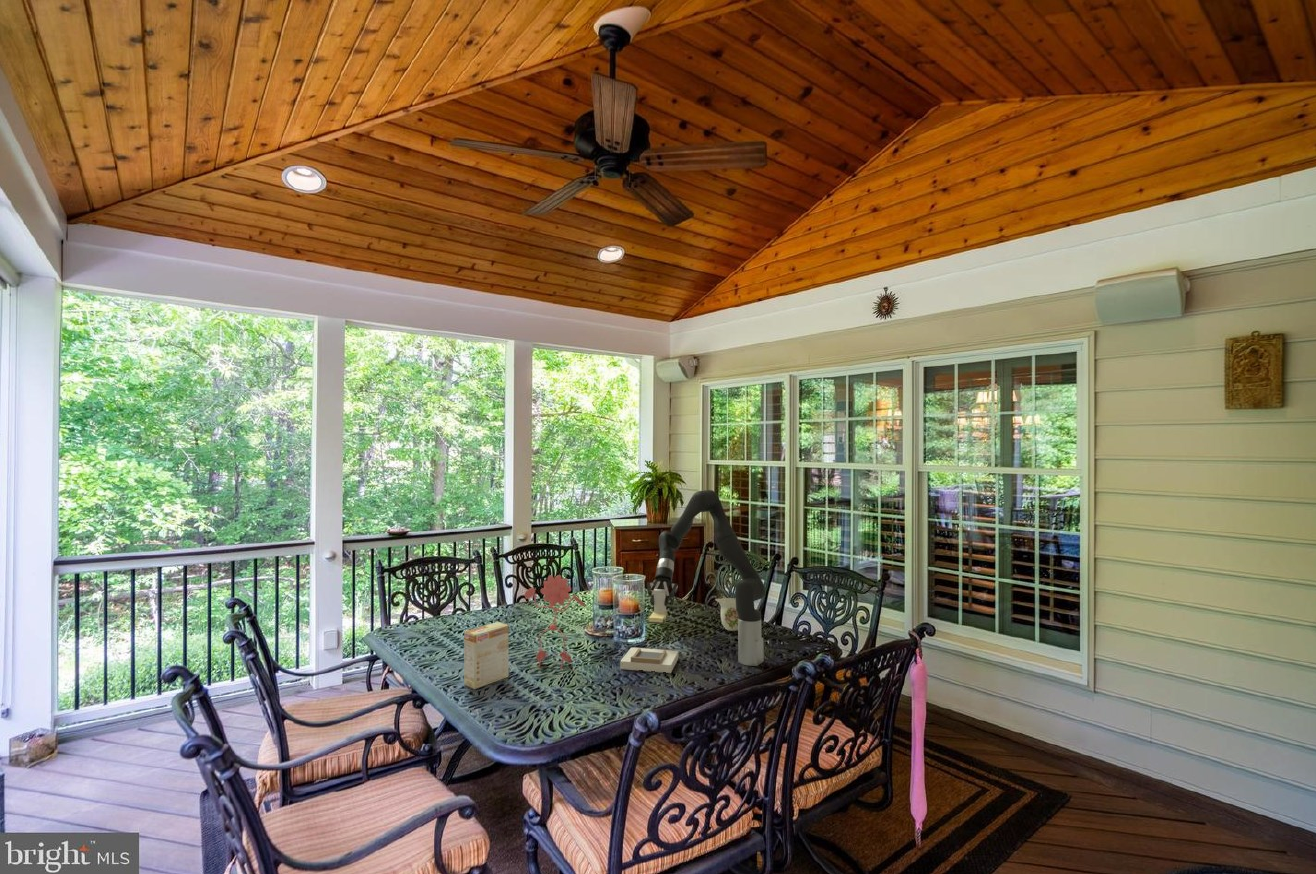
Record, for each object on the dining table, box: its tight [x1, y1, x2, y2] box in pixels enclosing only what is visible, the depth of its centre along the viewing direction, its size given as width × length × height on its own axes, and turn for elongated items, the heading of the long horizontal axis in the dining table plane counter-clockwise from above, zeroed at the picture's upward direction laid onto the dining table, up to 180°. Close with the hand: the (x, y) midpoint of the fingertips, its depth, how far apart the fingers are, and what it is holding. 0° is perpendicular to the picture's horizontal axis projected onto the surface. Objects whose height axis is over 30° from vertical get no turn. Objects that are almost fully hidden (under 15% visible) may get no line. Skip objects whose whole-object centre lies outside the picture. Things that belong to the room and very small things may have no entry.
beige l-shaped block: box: [647, 588, 669, 625], centre depth 247 cm, size 9×6×12 cm
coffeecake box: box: [463, 621, 510, 690], centre depth 216 cm, size 15×7×20 cm, turn 141°
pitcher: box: [715, 597, 738, 632], centre depth 277 cm, size 11×18×14 cm, turn 86°
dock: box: [619, 646, 680, 674], centre depth 232 cm, size 20×16×5 cm
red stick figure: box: [524, 574, 586, 671], centre depth 235 cm, size 15×26×35 cm, turn 79°
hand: (659, 604), depth 249 cm, fingers closed on beige l-shaped block, 5 cm apart
